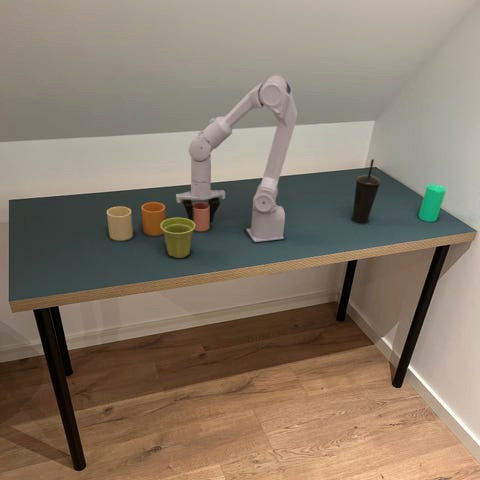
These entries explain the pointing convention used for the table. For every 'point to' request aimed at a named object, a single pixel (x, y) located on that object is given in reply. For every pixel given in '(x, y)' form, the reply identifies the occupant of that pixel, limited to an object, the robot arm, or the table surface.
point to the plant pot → (178, 236)
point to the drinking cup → (364, 196)
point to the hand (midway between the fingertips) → (200, 222)
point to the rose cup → (201, 216)
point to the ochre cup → (153, 218)
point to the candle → (432, 202)
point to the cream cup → (120, 223)
